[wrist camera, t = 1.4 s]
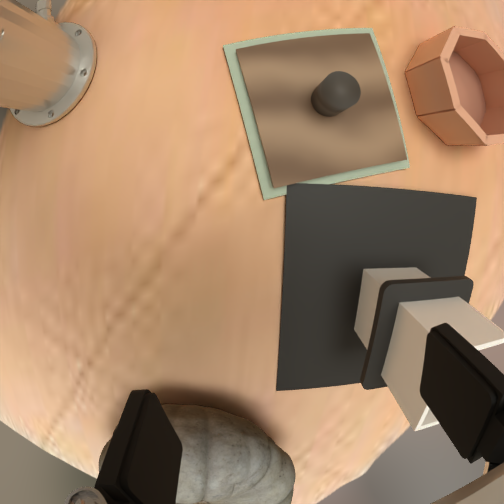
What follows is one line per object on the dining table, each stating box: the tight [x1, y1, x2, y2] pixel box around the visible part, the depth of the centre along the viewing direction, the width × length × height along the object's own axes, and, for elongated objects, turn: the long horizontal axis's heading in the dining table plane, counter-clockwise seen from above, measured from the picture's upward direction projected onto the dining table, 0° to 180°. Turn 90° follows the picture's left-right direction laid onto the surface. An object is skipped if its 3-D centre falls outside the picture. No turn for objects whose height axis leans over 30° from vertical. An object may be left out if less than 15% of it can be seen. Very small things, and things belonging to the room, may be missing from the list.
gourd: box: [99, 404, 295, 504], centre depth 31 cm, size 25×25×17 cm
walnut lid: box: [236, 33, 407, 188], centre depth 24 cm, size 14×14×5 cm
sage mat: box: [223, 28, 410, 200], centre depth 27 cm, size 16×16×1 cm
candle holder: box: [276, 183, 504, 431], centre depth 25 cm, size 25×24×16 cm
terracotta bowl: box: [405, 26, 504, 146], centre depth 24 cm, size 13×13×7 cm
